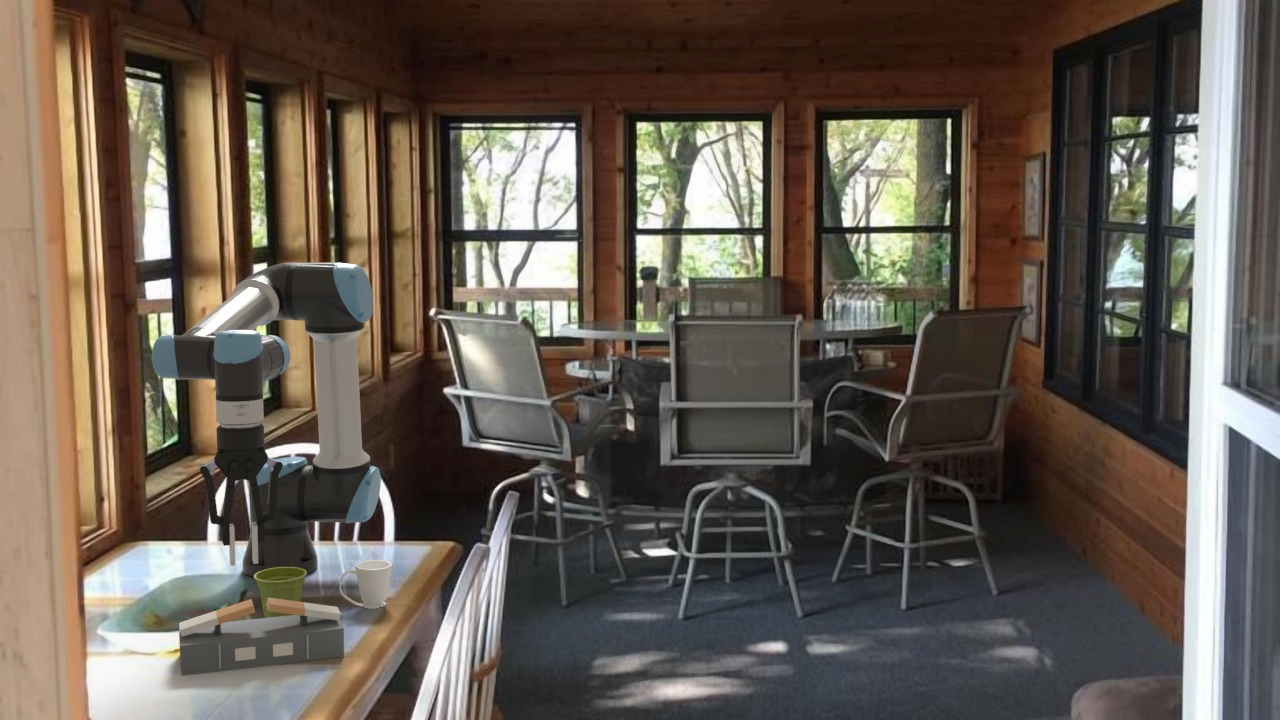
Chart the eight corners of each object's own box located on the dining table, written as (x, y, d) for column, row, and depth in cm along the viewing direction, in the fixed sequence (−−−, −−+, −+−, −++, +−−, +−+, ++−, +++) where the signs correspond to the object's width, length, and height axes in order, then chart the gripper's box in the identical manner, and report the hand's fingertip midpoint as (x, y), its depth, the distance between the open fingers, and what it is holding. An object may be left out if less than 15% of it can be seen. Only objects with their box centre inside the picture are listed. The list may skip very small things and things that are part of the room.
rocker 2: (266, 604, 219) (267, 597, 219) (335, 613, 223) (337, 606, 223) (268, 611, 215) (269, 604, 215) (339, 620, 219) (340, 613, 219)
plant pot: (260, 630, 231) (259, 583, 230) (250, 615, 239) (249, 570, 238) (313, 623, 235) (312, 577, 234) (301, 608, 243) (300, 564, 242)
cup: (392, 610, 243) (391, 569, 242) (338, 612, 241) (337, 570, 240) (393, 599, 250) (393, 559, 249) (341, 601, 248) (340, 560, 247)
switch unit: (179, 655, 217) (178, 617, 217) (336, 638, 227) (335, 602, 226) (181, 676, 208) (180, 636, 207) (344, 657, 217) (343, 619, 216)
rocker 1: (181, 629, 214) (179, 622, 214) (253, 605, 218) (251, 598, 218) (181, 636, 210) (179, 630, 210) (255, 612, 214) (253, 605, 214)
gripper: (189, 430, 206) (194, 573, 208) (292, 425, 211) (295, 564, 214) (188, 422, 212) (192, 561, 215) (287, 418, 218) (291, 552, 221)
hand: (244, 562), depth 215 cm, fingers open, 3 cm apart
